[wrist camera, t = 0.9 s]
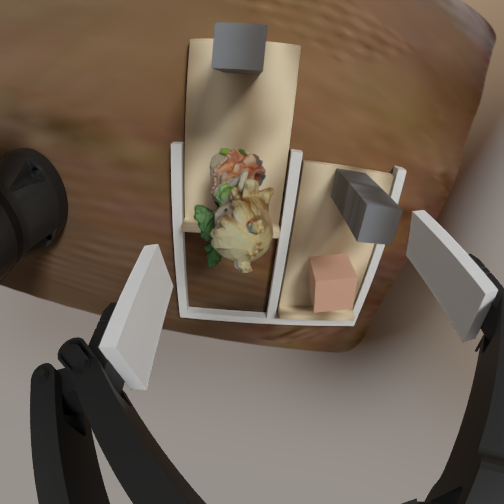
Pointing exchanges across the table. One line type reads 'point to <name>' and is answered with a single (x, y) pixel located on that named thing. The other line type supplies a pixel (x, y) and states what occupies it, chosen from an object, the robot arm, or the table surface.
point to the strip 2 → (335, 229)
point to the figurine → (236, 210)
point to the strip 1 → (238, 109)
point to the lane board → (281, 249)
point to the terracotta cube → (331, 282)
